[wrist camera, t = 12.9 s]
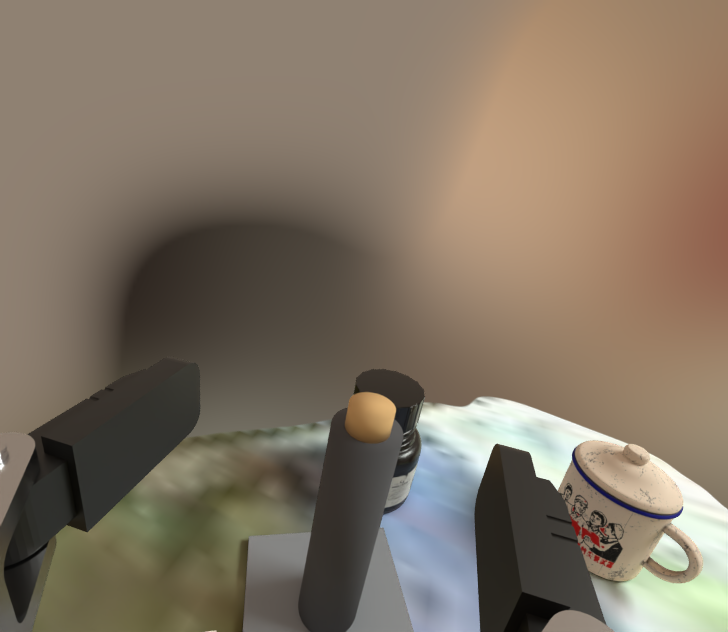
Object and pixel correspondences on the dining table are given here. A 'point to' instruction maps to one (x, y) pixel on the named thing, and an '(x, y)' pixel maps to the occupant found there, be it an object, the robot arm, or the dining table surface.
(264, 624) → the grey felt mat
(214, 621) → the dining table surface
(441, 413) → the dining table surface
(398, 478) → the ink bottle
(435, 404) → the dining table surface
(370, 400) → the black cable stub
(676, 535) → the teacup with lid
